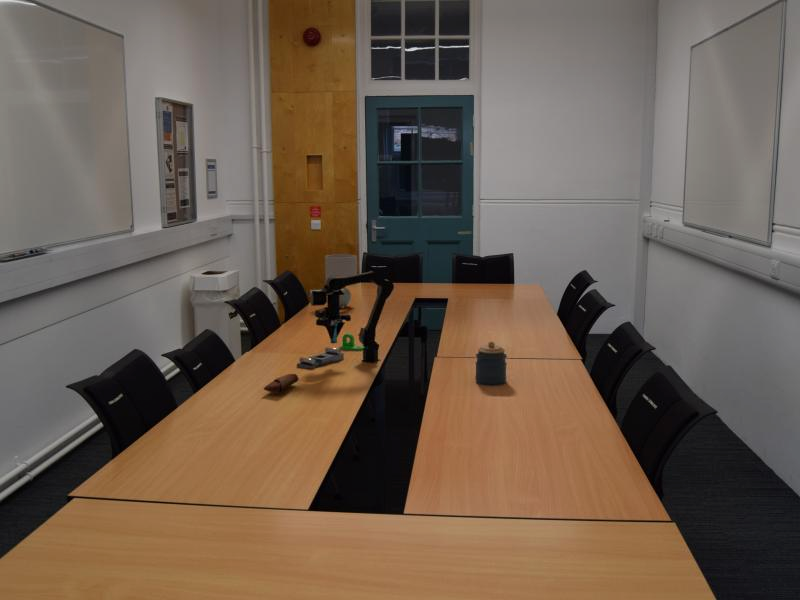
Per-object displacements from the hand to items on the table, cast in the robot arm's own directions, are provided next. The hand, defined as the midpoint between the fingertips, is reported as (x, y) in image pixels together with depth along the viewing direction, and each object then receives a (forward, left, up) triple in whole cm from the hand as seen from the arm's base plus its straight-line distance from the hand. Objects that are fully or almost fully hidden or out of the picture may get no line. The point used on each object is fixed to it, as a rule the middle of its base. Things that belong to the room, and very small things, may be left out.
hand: (333, 338), depth 371 cm
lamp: (+92, -120, -12) cm, 151 cm away
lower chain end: (+7, +2, -12) cm, 14 cm away
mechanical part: (+12, -29, -13) cm, 34 cm away
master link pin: (0, 0, -2) cm, 2 cm away
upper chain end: (+7, +2, -12) cm, 14 cm away
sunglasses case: (-7, +46, -13) cm, 48 cm away
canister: (-75, -11, -12) cm, 77 cm away
